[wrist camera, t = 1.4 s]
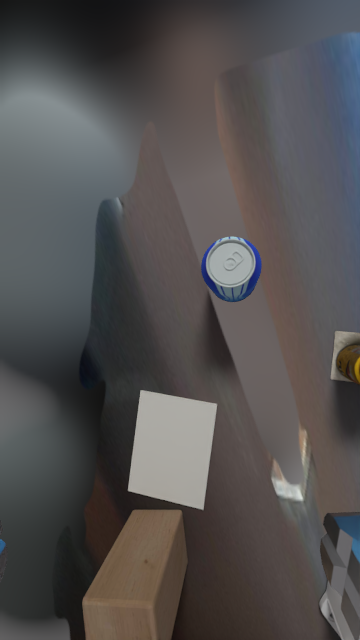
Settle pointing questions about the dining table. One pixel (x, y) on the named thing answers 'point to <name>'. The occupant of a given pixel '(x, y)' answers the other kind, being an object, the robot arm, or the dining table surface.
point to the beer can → (231, 268)
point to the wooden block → (139, 580)
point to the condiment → (346, 357)
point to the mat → (172, 448)
